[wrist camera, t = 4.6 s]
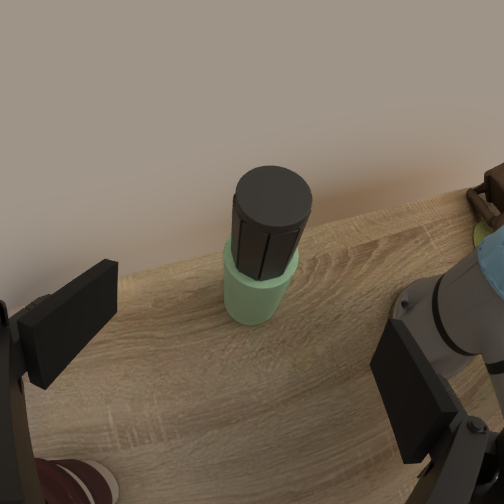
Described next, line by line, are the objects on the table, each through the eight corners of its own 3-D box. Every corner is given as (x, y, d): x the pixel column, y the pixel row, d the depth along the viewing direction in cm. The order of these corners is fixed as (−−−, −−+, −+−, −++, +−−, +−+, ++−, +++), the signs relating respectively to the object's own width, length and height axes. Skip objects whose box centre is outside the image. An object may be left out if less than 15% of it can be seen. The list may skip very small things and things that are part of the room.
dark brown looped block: (547, 235, 41) (497, 263, 46) (507, 187, 53) (462, 209, 57) (551, 205, 36) (499, 234, 41) (506, 158, 48) (458, 180, 53)
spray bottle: (269, 269, 44) (291, 191, 29) (285, 317, 41) (320, 259, 26) (218, 281, 43) (215, 204, 28) (231, 331, 40) (235, 278, 25)
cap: (279, 223, 32) (296, 160, 24) (298, 272, 30) (324, 218, 22) (226, 234, 31) (227, 171, 23) (240, 286, 29) (247, 234, 21)
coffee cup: (68, 513, 25) (7, 542, 12) (55, 446, 30) (-16, 451, 17) (137, 520, 27) (95, 566, 13) (123, 450, 31) (69, 467, 18)
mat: (509, 224, 50) (512, 219, 49) (520, 274, 45) (525, 269, 43) (465, 222, 53) (468, 216, 51) (475, 274, 48) (479, 269, 46)
